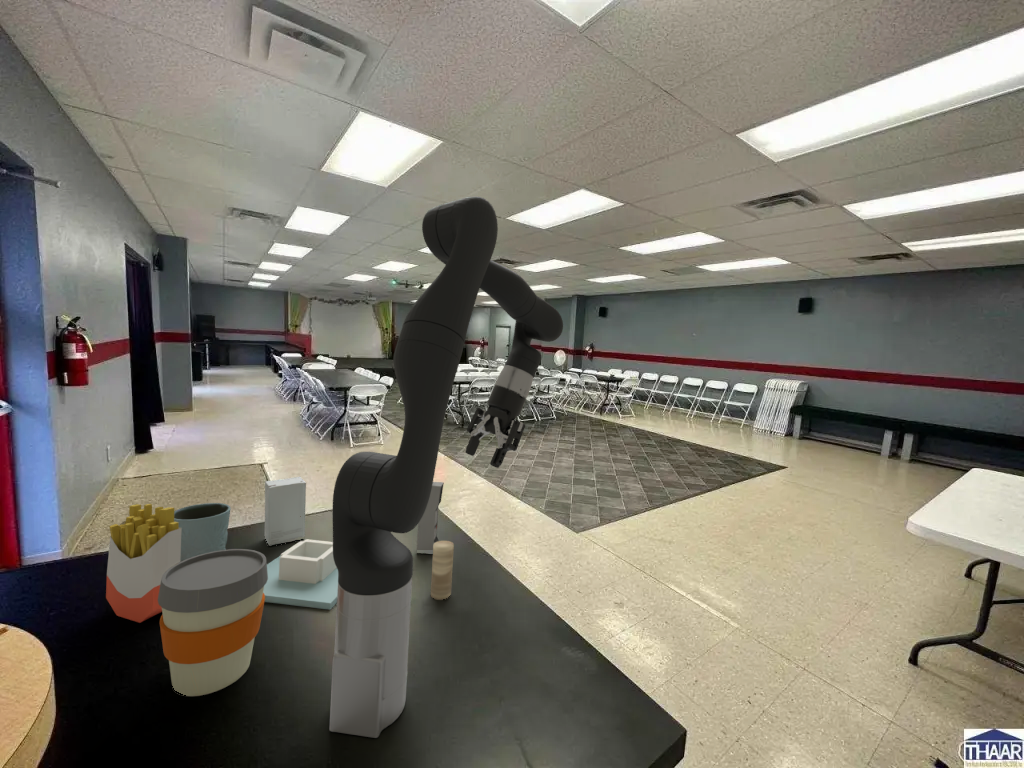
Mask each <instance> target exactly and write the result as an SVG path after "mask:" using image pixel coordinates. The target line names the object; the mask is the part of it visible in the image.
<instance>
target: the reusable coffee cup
mask: <svg viewBox="0 0 1024 768" xmlns="http://www.w3.org/2000/svg"><path fill="white" fill-rule="evenodd" d="M267 564H268V563H267V557H266V556H265V554H264V553H262V552H260V551H257V550H253V549H247V548H229V549H226V550H220V551H214V552H209V553H205V554H201V555H197V556H194V557H191V558H189V559H186V560H184V561H181V562H179V563H177V564H175V565H174V566H172V567H170V568H169V569H168V570H167V571H166V572H165V573H164V574H163V575H162V578H161V584H160V589H159V595H158V604H159V605H160V606H161V607H162V612H161V613H162V614H161V616H160V618H159V627H160V635H161V642H162V649H163V650H162V651H163V655H164V657H165V658H166V660H168V664H169V665H168V666H169V672H170V680H171V685H172V686H173V687H172V689H173V688H174V690H175V691H177V692H179V693H181V694H183V695H182V696H184V695H186V696H185V697H200V696H203V695H204V696H205V695H209V694H212V693H214V692H218V691H221V690H222V689H225V688H226V687H228V686H230V685H232V684H233V683H235V682H237V681H238V680H239V679H240V678H242V676H243V675H244V674H245V673H246V672H247V670H248V669H249V667H250V664H251V659H252V654H253V647H254V643H255V637H257V635H258V633H259V632H260V631H259V630H260V627H261V621H262V616H263V611H264V607H265V602H264V601H265V594H264V593H263V590H264V585H265V584H266V583H267V580H268V573H267ZM174 690H173V691H174ZM175 691H174V692H175Z"/></svg>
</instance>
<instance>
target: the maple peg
mask: <svg viewBox="0 0 1024 768" xmlns="http://www.w3.org/2000/svg"><path fill="white" fill-rule="evenodd" d="M454 547H455V544H454V542H453V541H449V540H439V541H438V542H435V543H434V545H433V555H432V565H431V566H432V567H431V581H430V582H431V583H430V584H431V585H430V597H431V598H432V599H433V598H434V600H436V601H443V599H445V600H447V599H449V598H450V597H451V596H450V595H452V585H453V584H452V582H453V565H454V550H455V549H454ZM449 596H450V597H449ZM448 597H449V598H448ZM446 598H447V599H446Z"/></svg>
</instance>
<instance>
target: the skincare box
mask: <svg viewBox="0 0 1024 768" xmlns="http://www.w3.org/2000/svg"><path fill="white" fill-rule="evenodd" d="M306 496H307V482H306V481H305V480H304V479H303V477H301V476H296V477H295V476H294V477H289V478H283V479H280V478H279V479H274V480H265V482H264V536H265V538H264V540H265V539H266V540H265V542H266V541H267V542H266V544H267V543H268V544H269V545H270V544H275V543H280V542H284V541H287V540H290V539H295V538H298V537H304V536H305V537H306V502H307V501H306ZM300 516H301V517H300Z"/></svg>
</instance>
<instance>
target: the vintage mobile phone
mask: <svg viewBox="0 0 1024 768" xmlns="http://www.w3.org/2000/svg"><path fill="white" fill-rule="evenodd" d="M443 490H444V482H443V481H433V484H432V489H431V494H430V498H429V501H428V504H427V507H426V510H425V512H424V514H423V516H422V518H421V520H420V522H419V523H418V524H417V536H416V537H417V538H416V539H417V540H416V551H417V550H433V545H434V543H435V542H438V541H440V540H439V538H438V523H439V520H438V519H439V505H441V502H442V497H443Z"/></svg>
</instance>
